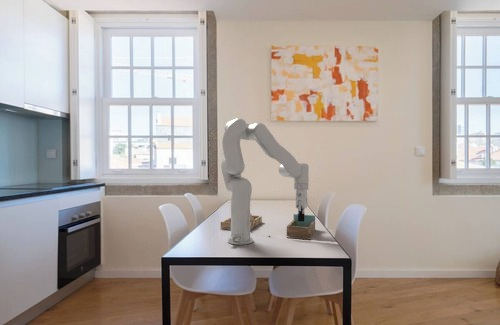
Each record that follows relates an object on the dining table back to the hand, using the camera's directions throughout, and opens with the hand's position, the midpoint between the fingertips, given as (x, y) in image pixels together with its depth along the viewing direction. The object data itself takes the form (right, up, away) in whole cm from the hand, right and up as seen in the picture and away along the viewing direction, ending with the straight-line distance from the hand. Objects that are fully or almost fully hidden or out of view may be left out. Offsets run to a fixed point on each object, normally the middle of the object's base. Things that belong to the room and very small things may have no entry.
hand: (301, 220), depth 161 cm
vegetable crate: (-32, -7, +24) cm, 41 cm away
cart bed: (0, -8, +1) cm, 8 cm away
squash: (-32, -8, +25) cm, 41 cm away
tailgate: (+3, -7, +9) cm, 12 cm away
